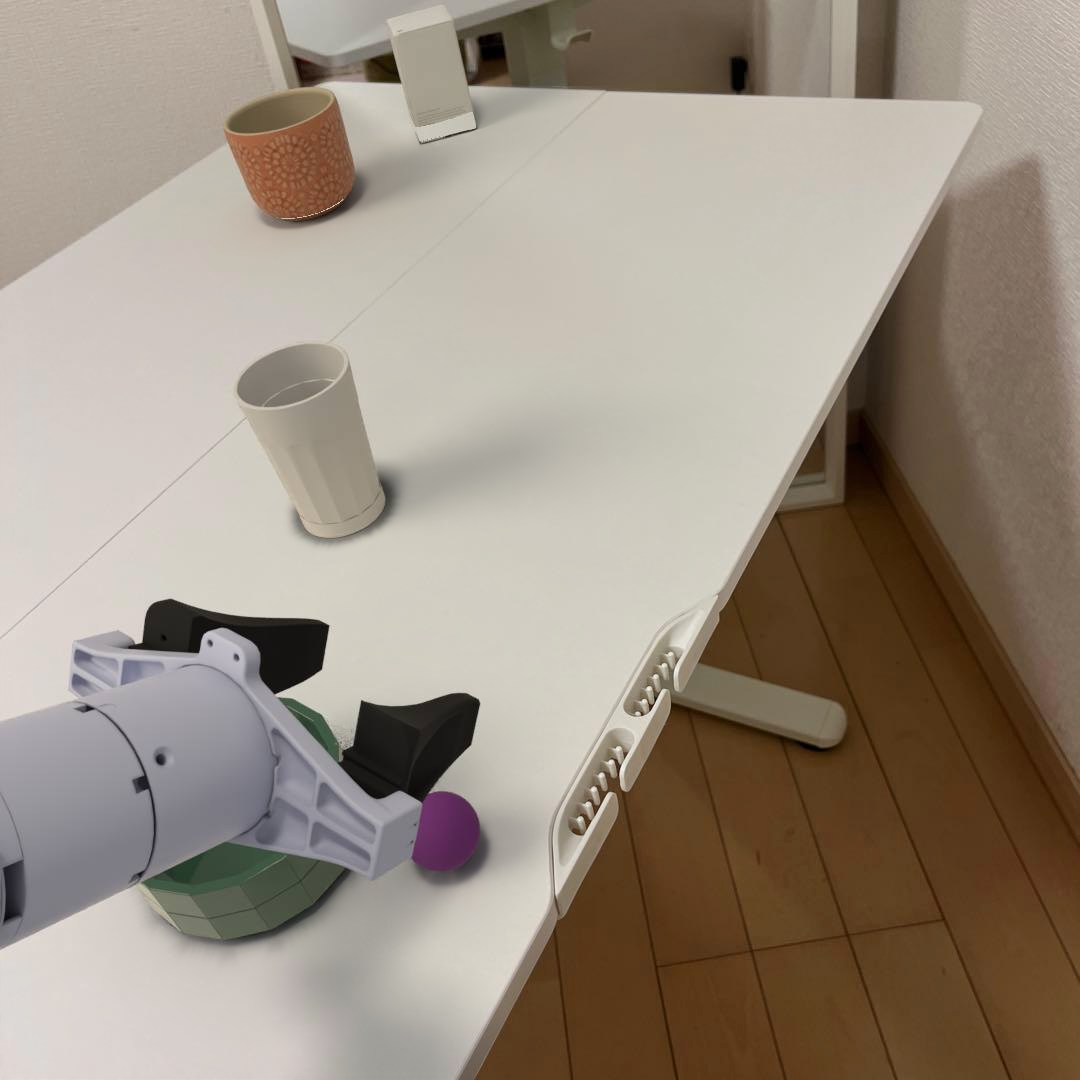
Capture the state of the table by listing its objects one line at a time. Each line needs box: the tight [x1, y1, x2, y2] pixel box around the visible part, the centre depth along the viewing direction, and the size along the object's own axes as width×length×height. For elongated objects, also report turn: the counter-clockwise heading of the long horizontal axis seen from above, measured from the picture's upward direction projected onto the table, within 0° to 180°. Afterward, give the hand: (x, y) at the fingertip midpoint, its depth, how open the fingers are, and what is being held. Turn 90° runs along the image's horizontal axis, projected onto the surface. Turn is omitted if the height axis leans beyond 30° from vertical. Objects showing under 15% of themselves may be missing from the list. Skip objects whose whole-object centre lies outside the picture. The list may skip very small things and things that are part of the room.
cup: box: [232, 340, 386, 539], centre depth 78 cm, size 8×8×12 cm
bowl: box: [135, 696, 346, 941], centre depth 59 cm, size 12×12×5 cm
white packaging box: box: [385, 3, 474, 144], centre depth 130 cm, size 7×7×13 cm
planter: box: [222, 86, 356, 222], centre depth 120 cm, size 12×12×11 cm
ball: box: [410, 790, 481, 873], centre depth 57 cm, size 4×4×4 cm
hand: (391, 680), depth 43 cm, fingers open, 7 cm apart
